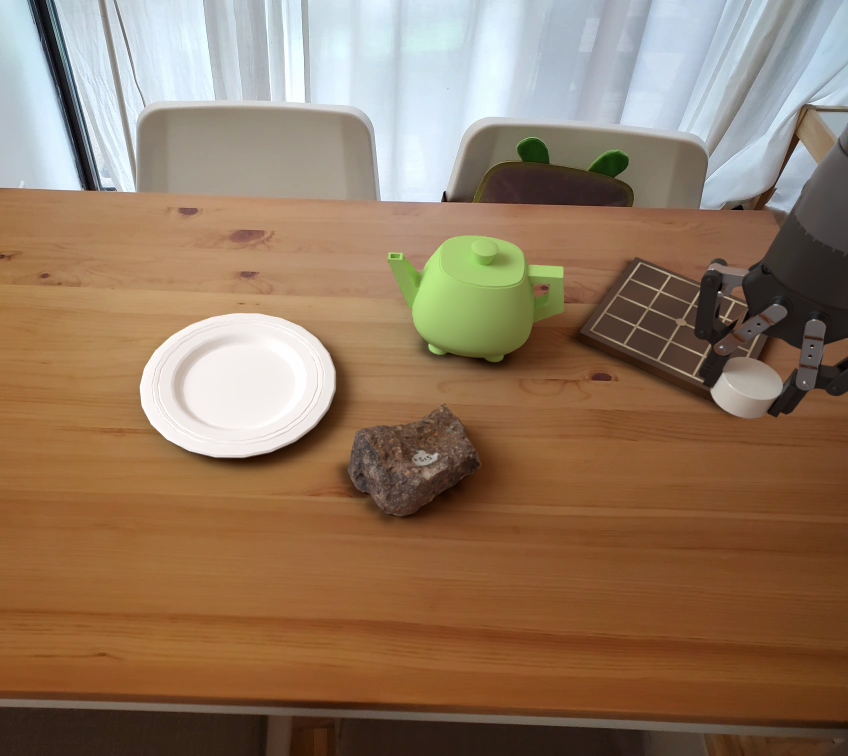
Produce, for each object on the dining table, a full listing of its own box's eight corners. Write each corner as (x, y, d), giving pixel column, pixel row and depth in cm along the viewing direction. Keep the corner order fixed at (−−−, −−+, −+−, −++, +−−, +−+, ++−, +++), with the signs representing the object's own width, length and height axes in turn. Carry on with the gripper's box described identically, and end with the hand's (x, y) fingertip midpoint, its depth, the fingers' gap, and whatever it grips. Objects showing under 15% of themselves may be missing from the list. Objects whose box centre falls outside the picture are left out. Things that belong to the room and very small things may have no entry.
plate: (101, 401, 77) (97, 389, 75) (235, 299, 88) (234, 287, 87) (246, 504, 68) (245, 493, 67) (374, 378, 80) (375, 366, 78)
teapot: (374, 360, 82) (381, 274, 72) (389, 285, 91) (397, 199, 81) (553, 385, 80) (583, 299, 70) (549, 305, 89) (577, 220, 79)
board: (774, 321, 88) (779, 313, 87) (731, 410, 78) (736, 402, 77) (632, 263, 95) (636, 255, 94) (576, 339, 85) (579, 331, 84)
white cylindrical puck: (775, 392, 59) (789, 373, 57) (761, 428, 57) (776, 408, 55) (718, 368, 61) (731, 348, 59) (703, 401, 58) (715, 381, 56)
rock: (449, 422, 76) (454, 381, 71) (496, 475, 71) (505, 435, 66) (344, 474, 71) (342, 435, 67) (387, 534, 67) (388, 496, 62)
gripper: (729, 206, 46) (640, 383, 59) (983, 295, 41) (825, 468, 54) (758, 157, 51) (669, 332, 63) (991, 232, 45) (843, 406, 58)
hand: (741, 394), depth 58 cm, fingers closed on white cylindrical puck, 4 cm apart
